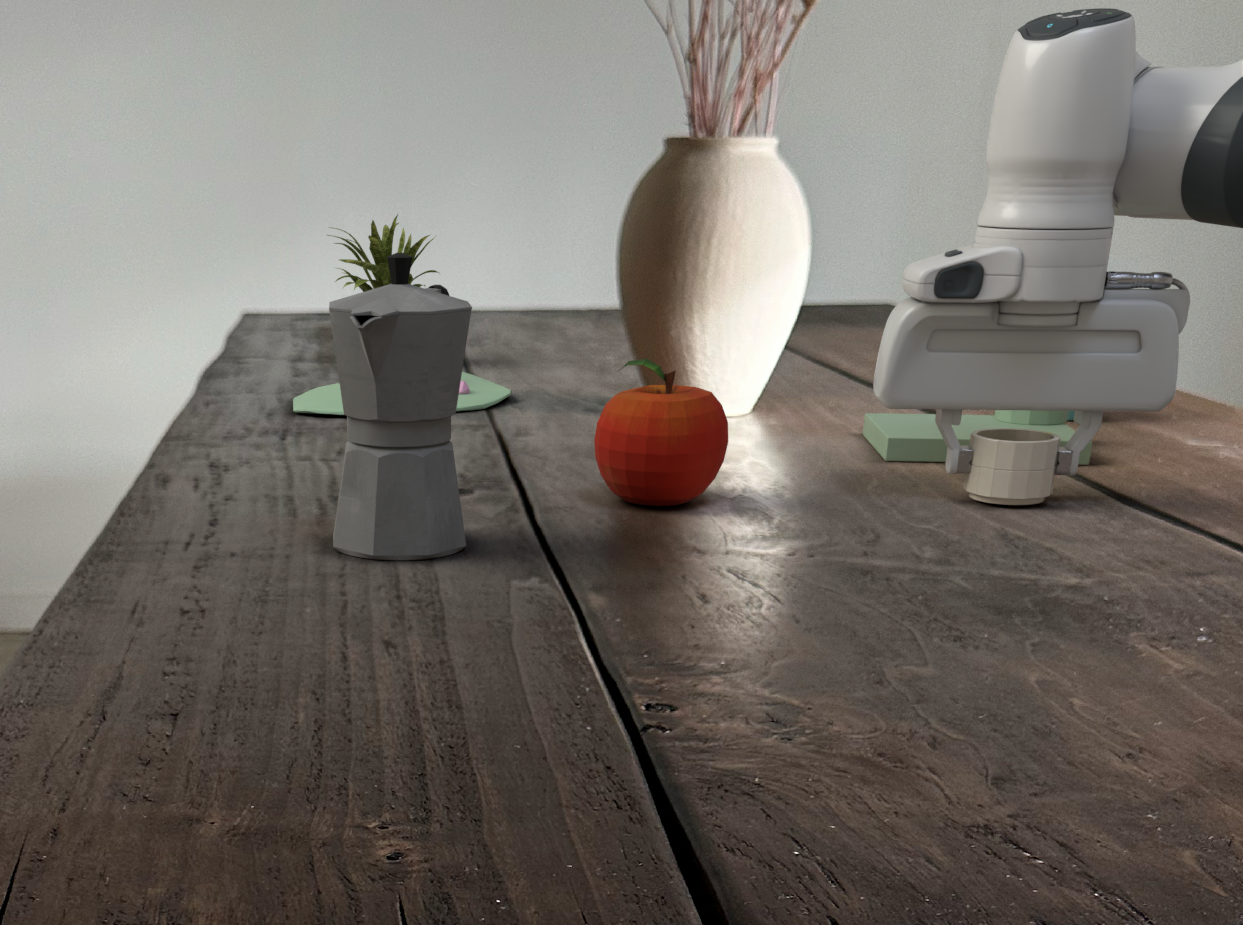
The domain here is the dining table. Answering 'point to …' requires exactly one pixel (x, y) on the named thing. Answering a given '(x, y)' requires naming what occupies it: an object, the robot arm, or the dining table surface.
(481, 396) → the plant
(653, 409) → the fruit
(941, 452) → the scale
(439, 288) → the coffeepot
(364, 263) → the house plant
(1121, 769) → the dining table surface
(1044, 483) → the bowl
